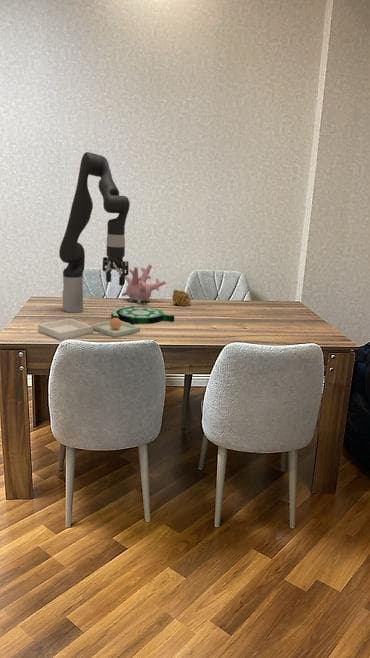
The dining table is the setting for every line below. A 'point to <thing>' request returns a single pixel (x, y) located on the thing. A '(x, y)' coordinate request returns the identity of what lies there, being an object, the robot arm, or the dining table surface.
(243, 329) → the dining table surface
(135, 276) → the toy
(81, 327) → the cream square dish
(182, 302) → the rock
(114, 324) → the ball
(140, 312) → the emblem
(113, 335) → the tray
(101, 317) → the dining table surface
